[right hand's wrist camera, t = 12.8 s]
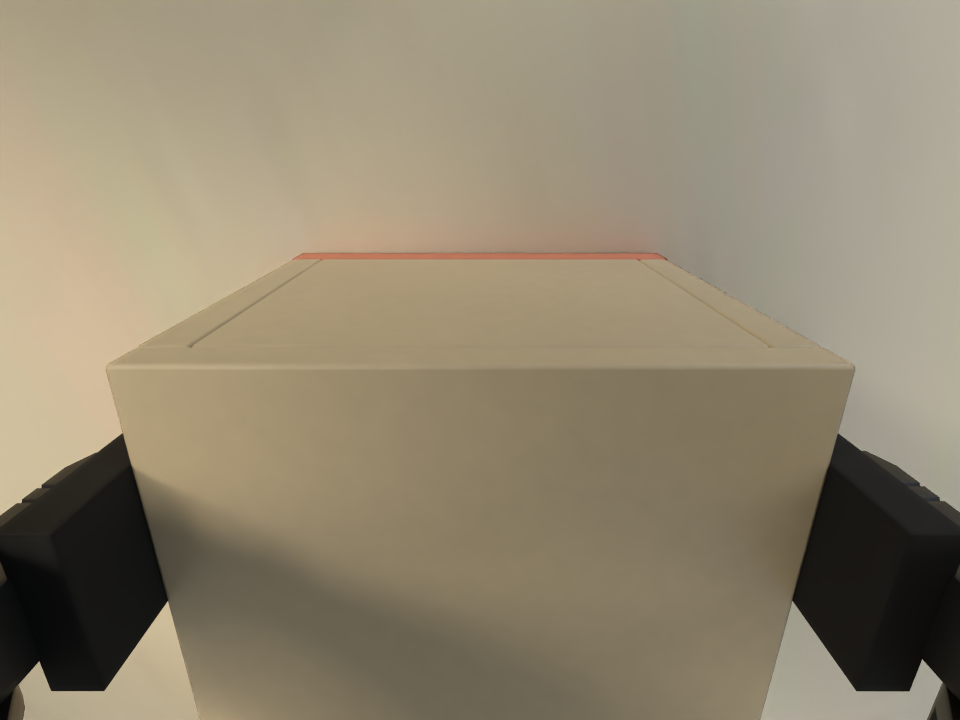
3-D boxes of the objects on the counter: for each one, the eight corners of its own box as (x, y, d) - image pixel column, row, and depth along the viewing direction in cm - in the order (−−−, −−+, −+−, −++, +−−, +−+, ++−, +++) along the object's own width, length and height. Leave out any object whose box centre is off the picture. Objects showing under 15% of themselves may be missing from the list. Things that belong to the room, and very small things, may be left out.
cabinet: (605, 688, 23) (682, 1013, 14) (353, 688, 23) (277, 1013, 14) (657, 253, 16) (860, 364, 8) (302, 253, 16) (99, 363, 8)
